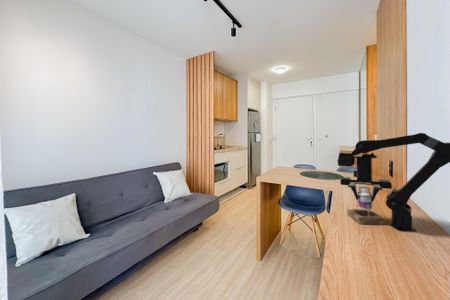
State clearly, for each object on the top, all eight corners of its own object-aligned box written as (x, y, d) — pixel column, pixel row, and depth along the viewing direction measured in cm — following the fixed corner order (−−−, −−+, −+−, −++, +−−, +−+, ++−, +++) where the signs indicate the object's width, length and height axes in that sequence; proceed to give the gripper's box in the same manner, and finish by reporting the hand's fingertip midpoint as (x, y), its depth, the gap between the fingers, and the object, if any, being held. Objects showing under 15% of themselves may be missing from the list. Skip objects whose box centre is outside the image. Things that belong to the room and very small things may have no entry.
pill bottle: (358, 205, 93) (358, 185, 92) (372, 207, 89) (372, 187, 89) (357, 208, 89) (356, 188, 88) (371, 211, 85) (371, 189, 85)
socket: (383, 224, 84) (383, 217, 84) (359, 224, 85) (359, 217, 85) (368, 215, 94) (368, 209, 94) (347, 215, 95) (347, 209, 95)
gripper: (388, 166, 89) (389, 198, 90) (342, 164, 100) (342, 193, 101) (391, 169, 80) (391, 206, 81) (340, 167, 91) (340, 199, 92)
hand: (364, 200), depth 89 cm, fingers closed on pill bottle, 5 cm apart
